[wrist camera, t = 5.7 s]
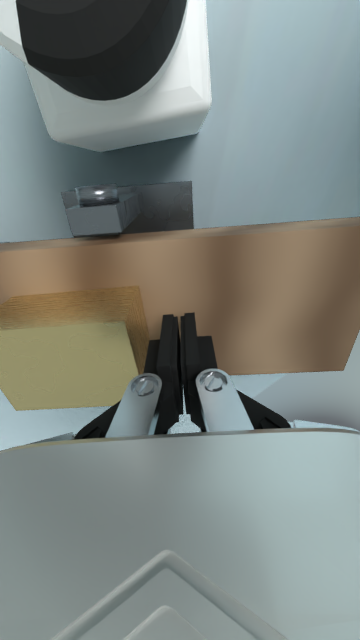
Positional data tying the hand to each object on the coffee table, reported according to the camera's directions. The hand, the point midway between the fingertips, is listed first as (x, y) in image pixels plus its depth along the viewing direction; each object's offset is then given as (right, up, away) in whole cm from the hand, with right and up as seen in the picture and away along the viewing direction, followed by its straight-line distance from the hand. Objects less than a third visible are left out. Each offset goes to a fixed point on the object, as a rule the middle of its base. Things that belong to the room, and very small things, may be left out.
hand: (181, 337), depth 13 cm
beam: (-4, +2, +3) cm, 5 cm away
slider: (-5, 0, +1) cm, 6 cm away
